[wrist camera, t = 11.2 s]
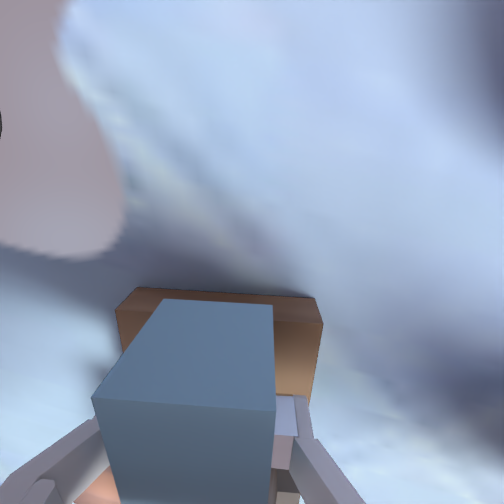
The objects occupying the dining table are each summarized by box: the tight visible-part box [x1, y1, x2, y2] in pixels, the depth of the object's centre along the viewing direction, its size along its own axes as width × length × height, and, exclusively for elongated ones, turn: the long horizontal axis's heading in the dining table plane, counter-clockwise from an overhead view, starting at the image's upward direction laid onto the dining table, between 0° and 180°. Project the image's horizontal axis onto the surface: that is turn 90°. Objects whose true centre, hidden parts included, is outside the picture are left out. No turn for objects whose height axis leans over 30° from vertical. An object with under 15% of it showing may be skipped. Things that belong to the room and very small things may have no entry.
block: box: [91, 299, 276, 504], centre depth 9 cm, size 4×4×5 cm
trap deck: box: [115, 287, 323, 504], centre depth 14 cm, size 23×9×4 cm, turn 178°
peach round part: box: [74, 465, 121, 504], centre depth 19 cm, size 6×6×1 cm
